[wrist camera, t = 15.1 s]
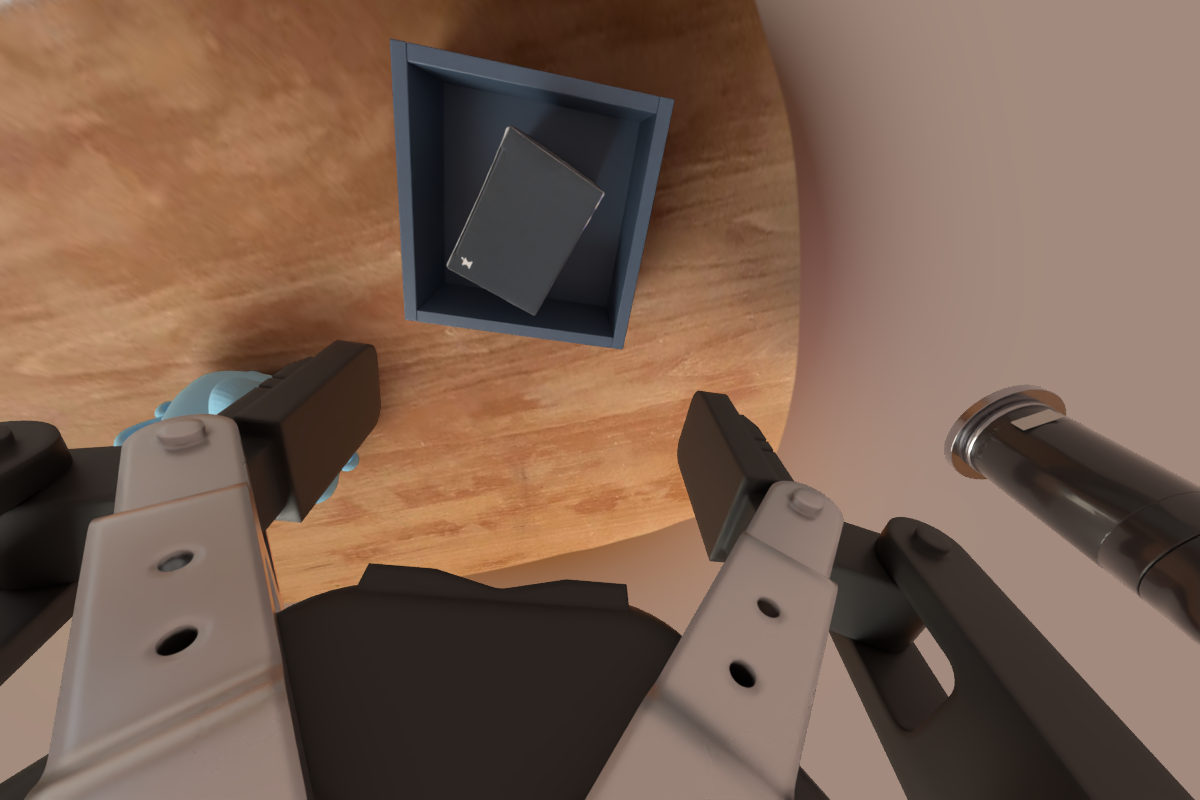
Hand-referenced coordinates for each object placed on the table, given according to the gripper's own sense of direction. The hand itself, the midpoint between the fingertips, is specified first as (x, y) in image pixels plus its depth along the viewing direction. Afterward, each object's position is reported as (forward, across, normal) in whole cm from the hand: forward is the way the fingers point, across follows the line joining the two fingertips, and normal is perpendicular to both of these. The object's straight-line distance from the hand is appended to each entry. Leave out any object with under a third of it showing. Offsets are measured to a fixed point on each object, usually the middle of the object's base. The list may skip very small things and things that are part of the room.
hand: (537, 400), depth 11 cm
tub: (+26, +2, -2) cm, 26 cm away
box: (+25, +2, -2) cm, 25 cm away
